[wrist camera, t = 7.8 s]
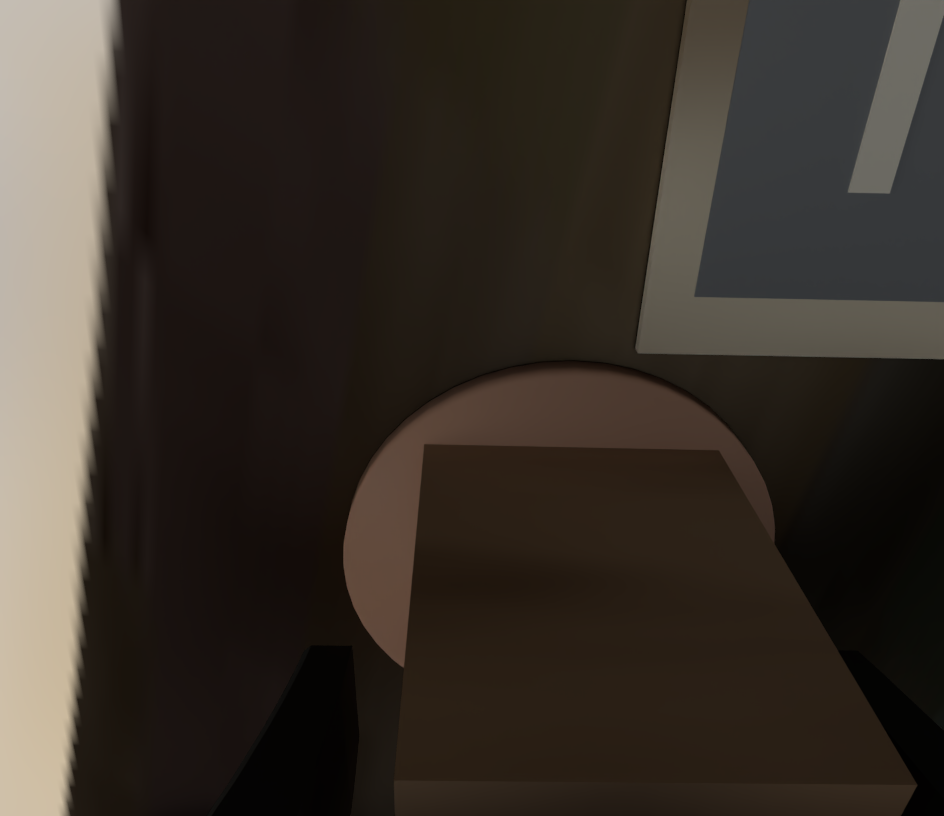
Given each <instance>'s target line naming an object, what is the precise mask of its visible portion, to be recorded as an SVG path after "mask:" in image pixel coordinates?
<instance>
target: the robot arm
mask: <svg viewBox="0 0 944 816" xmlns="http://www.w3.org/2000/svg"><path fill="white" fill-rule="evenodd" d="M838 652H839V654H840V655H841V657H842V659H843V660H844V662H845V664H846V665H847V667H848V669H849V671H850V672H851V674H852V676H853V677H854V679H855V681H856V682H857V684H858V686H859V687H860V689H861V691H862V692H863V694H864V696H865V697H866V699H867V701H868V703H869V704H870V706H871V708H872V709H873V711H874V713H875V714H876V716H877V718H878V719H879V721H880V723H881V724H882V726H883V728H884V730H885V731H886V733H887V735H888V736H889V738H890V740H891V741H892V743H893V745H894V746H895V748H896V750H897V751H898V753H899V755H900V756H901V758H902V760H903V762H904V763H905V765H906V767H907V768H908V770H909V772H910V773H911V775H912V777H913V778H914V780H915V782H916V783H917V787H916V789H915V791H914V792H913V794H912V796H911V798H910V800H909V802H908V804H907V805H906V807H905V809H904V811H903V813H902V815H901V816H944V731H943V730H942V729H941V728H940V727H939V726H938V725H937V724H936V723H935V722H934V721H933V720H932V719H930V718H929V717H928V716H927V715H926V714H925V713H924V712H923V711H922V710H921V709H920V708H919V707H918V706H917V705H916V704H914V703H913V702H912V701H911V700H910V699H909V698H908V697H907V696H906V695H905V694H904V693H903V692H902V691H901V690H900V689H899V688H897V687H896V686H895V685H894V684H893V683H892V682H891V681H890V680H889V679H888V678H887V677H886V676H885V675H884V674H882V673H881V672H880V671H879V670H878V669H877V668H876V667H875V666H874V665H873V664H872V663H871V662H869V661H868V660H867V659H866V658H865V657H864V656H863V655H862V654H861V653H859V652H858V651H838ZM358 744H359V727H358V714H357V702H356V689H355V676H354V663H353V651H352V646H310V647H309V648H307V649H306V650H305V651H304V652H303V654H302V657H301V659H300V661H299V663H298V665H297V667H296V669H295V671H294V673H293V675H292V677H291V679H290V681H289V683H288V685H287V686H286V688H285V690H284V692H283V694H282V696H281V698H280V699H279V701H278V703H277V705H276V707H275V708H274V710H273V712H272V713H271V715H270V717H269V719H268V720H267V722H266V724H265V726H264V727H263V729H262V731H261V732H260V734H259V736H258V737H257V739H256V740H255V742H254V744H253V745H252V747H251V748H250V750H249V752H248V753H247V755H246V756H245V758H244V760H243V761H242V763H241V764H240V766H239V768H238V769H237V771H236V773H235V774H234V776H233V777H232V779H231V780H230V782H229V784H228V785H227V787H226V788H225V790H224V791H223V793H222V794H221V796H220V797H219V798H218V800H217V801H216V803H215V804H214V806H213V807H212V809H211V810H210V811H209V813H208V814H207V816H350V814H351V808H352V799H353V790H354V782H355V772H356V763H357V753H358Z"/></svg>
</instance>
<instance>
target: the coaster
mask: <svg viewBox="0 0 944 816" xmlns="http://www.w3.org/2000/svg"><path fill="white" fill-rule="evenodd" d="M424 444H441V445H489V446H536V447H584V448H632V449H679V450H719V451H720V453H721V455H722V457H723V458H724V460H725V462H726V463H727V465H728V467H729V468H730V470H731V472H732V473H733V475H734V477H735V478H736V480H737V482H738V483H739V485H740V487H741V489H742V490H743V492H744V494H745V495H746V497H747V499H748V500H749V502H750V504H751V505H752V507H753V509H754V510H755V512H756V514H757V515H758V517H759V519H760V521H761V522H762V524H763V526H764V527H765V529H766V531H767V532H768V534H769V536H770V537H771V539H772V541H773V542H774V541H775V523H774V515H773V508H772V503H771V500H770V497H769V493H768V490H767V487H766V484H765V482H764V480H763V478H762V476H761V474H760V472H759V470H758V468H757V466H756V465H755V463H754V461H753V459H752V458H751V456H750V455H749V453H748V452H747V450H746V449H745V447H744V446H743V444H742V443H741V441H740V440H739V439H738V438H737V436H736V435H735V434H734V432H733V431H732V430H731V428H730V427H729V426H728V424H727V423H726V422H724V421H723V420H722V419H721V418H720V417H719V416H718V415H717V414H716V413H715V412H714V411H713V410H712V409H711V408H710V407H709V406H707V405H706V404H704V403H703V402H701V401H700V400H698V399H697V398H696V397H694V396H693V395H691V394H690V393H688V392H687V391H685V390H683V389H681V388H679V387H677V386H675V385H673V384H671V383H669V382H667V381H665V380H663V379H661V378H658V377H655V376H652V375H649V374H646V373H643V372H640V371H637V370H634V369H630V368H625V367H620V366H615V365H610V364H605V363H594V362H581V361H560V362H541V363H534V364H528V365H522V366H516V367H510V368H507V369H503V370H500V371H496V372H493V373H489V374H486V375H482V376H480V377H477V378H475V379H473V380H470V381H468V382H465V383H463V384H461V385H458V386H456V387H454V388H452V389H450V390H448V391H447V392H445V393H443V394H441V395H440V396H438V397H436V398H434V399H433V400H431V401H429V402H428V403H426V404H425V405H424V406H422V407H421V408H420V409H418V410H417V411H416V412H414V413H413V414H412V415H410V416H409V417H408V418H406V419H405V420H404V421H403V422H402V423H401V424H400V425H399V426H398V427H397V428H396V429H395V430H394V431H393V432H392V433H391V434H390V435H389V436H388V437H387V438H386V440H385V441H384V442H383V444H382V445H381V446H380V448H379V449H378V450H377V452H376V453H375V454H374V456H373V457H372V458H371V460H370V462H369V464H368V466H367V467H366V469H365V471H364V473H363V475H362V477H361V478H360V481H359V483H358V486H357V489H356V492H355V495H354V498H353V500H352V504H351V509H350V513H349V517H348V522H347V527H346V533H345V539H344V558H343V566H344V572H345V578H346V584H347V589H348V592H349V595H350V597H351V600H352V603H353V606H354V608H355V610H356V612H357V614H358V616H359V618H360V620H361V622H362V623H363V625H364V627H365V628H366V630H367V631H368V632H369V634H370V635H371V636H372V638H373V639H374V640H375V642H376V643H377V644H378V645H379V646H380V647H381V648H382V649H383V650H384V651H385V652H386V653H387V654H388V655H389V656H390V657H391V658H392V659H393V660H394V661H395V662H397V663H398V664H399V665H400V666H402V667H403V668H404V662H405V651H406V640H407V629H408V617H409V606H410V595H411V584H412V573H413V562H414V551H415V540H416V529H417V518H418V507H419V496H420V485H421V474H422V463H423V452H424Z"/></svg>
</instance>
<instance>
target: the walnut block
mask: <svg viewBox="0 0 944 816" xmlns="http://www.w3.org/2000/svg"><path fill="white" fill-rule="evenodd" d="M916 787H917V783H916V782H915V780H914V778H913V777H912V775H911V773H910V772H909V770H908V768H907V767H906V765H905V763H904V762H903V760H902V758H901V756H900V755H899V753H898V751H897V750H896V748H895V746H894V745H893V743H892V741H891V740H890V738H889V736H888V735H887V733H886V731H885V730H884V728H883V726H882V724H881V723H880V721H879V719H878V718H877V716H876V714H875V713H874V711H873V709H872V708H871V706H870V704H869V703H868V701H867V699H866V697H865V696H864V694H863V692H862V691H861V689H860V687H859V686H858V684H857V682H856V681H855V679H854V677H853V676H852V674H851V672H850V671H849V669H848V667H847V665H846V664H845V662H844V660H843V659H842V657H841V655H840V654H839V652H838V650H837V649H836V647H835V645H834V644H833V642H832V640H831V639H830V637H829V635H828V633H827V632H826V630H825V628H824V627H823V625H822V623H821V622H820V620H819V618H818V617H817V615H816V613H815V612H814V610H813V608H812V606H811V605H810V603H809V601H808V600H807V598H806V596H805V595H804V593H803V591H802V590H801V588H800V586H799V585H798V583H797V581H796V580H795V578H794V576H793V574H792V573H791V571H790V569H789V568H788V566H787V564H786V563H785V561H784V559H783V558H782V556H781V554H780V553H779V551H778V549H777V548H776V546H775V544H774V542H773V541H772V539H771V537H770V536H769V534H768V532H767V531H766V529H765V527H764V526H763V524H762V522H761V521H760V519H759V517H758V515H757V514H756V512H755V510H754V509H753V507H752V505H751V504H750V502H749V500H748V499H747V497H746V495H745V494H744V492H743V490H742V489H741V487H740V485H739V483H738V482H737V480H736V478H735V477H734V475H733V473H732V472H731V470H730V468H729V467H728V465H727V463H726V462H725V460H724V458H723V457H722V455H721V453H720V451H719V450H679V449H632V448H584V447H536V446H489V445H441V444H424V452H423V463H422V474H421V485H420V496H419V507H418V518H417V529H416V540H415V551H414V562H413V573H412V584H411V595H410V606H409V617H408V629H407V640H406V651H405V662H404V673H403V684H402V695H401V706H400V717H399V728H398V739H397V750H396V761H395V772H394V802H395V816H901V815H902V813H903V811H904V809H905V807H906V805H907V804H908V802H909V800H910V798H911V796H912V794H913V792H914V791H915V789H916Z"/></svg>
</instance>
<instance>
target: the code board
mask: <svg viewBox="0 0 944 816" xmlns="http://www.w3.org/2000/svg"><path fill="white" fill-rule="evenodd" d="M635 349H636V351H637V353H645V354H698V355H751V356H804V357H857V358H910V359H944V0H687V4H686V11H685V18H684V24H683V31H682V38H681V45H680V51H679V58H678V65H677V71H676V78H675V85H674V92H673V98H672V105H671V112H670V118H669V125H668V132H667V138H666V145H665V152H664V159H663V165H662V172H661V179H660V185H659V192H658V199H657V206H656V212H655V219H654V226H653V232H652V239H651V246H650V253H649V259H648V266H647V273H646V279H645V286H644V293H643V299H642V306H641V313H640V320H639V326H638V333H637V340H636V346H635Z"/></svg>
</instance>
